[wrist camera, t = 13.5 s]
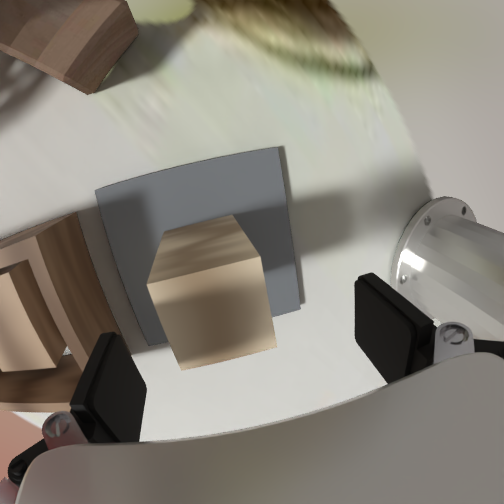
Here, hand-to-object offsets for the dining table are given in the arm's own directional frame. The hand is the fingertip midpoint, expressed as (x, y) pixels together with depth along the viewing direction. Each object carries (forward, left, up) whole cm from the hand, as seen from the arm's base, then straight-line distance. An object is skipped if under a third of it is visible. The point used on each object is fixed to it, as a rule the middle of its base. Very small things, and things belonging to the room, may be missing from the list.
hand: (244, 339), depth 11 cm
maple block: (+1, 0, -9) cm, 9 cm away
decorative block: (+8, -18, -10) cm, 22 cm away
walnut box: (+18, +1, -10) cm, 21 cm away
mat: (+1, 0, -10) cm, 10 cm away
